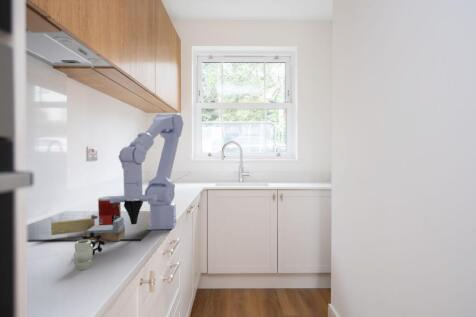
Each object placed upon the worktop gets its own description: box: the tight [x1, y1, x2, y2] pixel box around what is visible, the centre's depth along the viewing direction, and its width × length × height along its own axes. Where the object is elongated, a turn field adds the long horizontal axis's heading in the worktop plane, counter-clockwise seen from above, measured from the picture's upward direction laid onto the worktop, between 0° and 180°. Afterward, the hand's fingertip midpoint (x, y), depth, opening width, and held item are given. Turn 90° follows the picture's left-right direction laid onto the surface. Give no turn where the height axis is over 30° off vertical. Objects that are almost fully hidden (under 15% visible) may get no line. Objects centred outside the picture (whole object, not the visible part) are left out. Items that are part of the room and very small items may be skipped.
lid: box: [85, 216, 126, 235], centre depth 101 cm, size 10×7×4 cm, turn 95°
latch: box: [50, 214, 99, 236], centre depth 104 cm, size 2×14×5 cm, turn 116°
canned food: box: [97, 195, 122, 225], centre depth 118 cm, size 8×8×11 cm
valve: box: [73, 231, 106, 271], centre depth 80 cm, size 7×7×12 cm
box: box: [85, 227, 126, 243], centre depth 101 cm, size 10×7×3 cm
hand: (134, 223), depth 101 cm, fingers closed
